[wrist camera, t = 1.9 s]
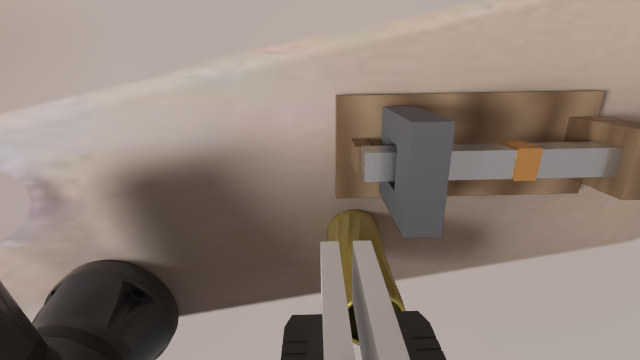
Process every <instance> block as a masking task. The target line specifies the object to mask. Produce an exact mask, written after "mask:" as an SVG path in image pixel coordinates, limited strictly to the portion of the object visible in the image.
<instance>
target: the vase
mask: <svg viewBox="0 0 640 360" xmlns="http://www.w3.org/2000/svg"><path fill="white" fill-rule="evenodd" d="M327 238H328V241H339V248H340V256H341V263H342V270H343V277H344V284H345V291H346V299H347V306H348V313H349V320H350V327H351V335H352V342H353V343H355V344H357V345H360V343H359V337H358V331H357V325H356V319H355V312H354V306H353V300H352V253H353V241H371V242H372V245H373V248H374V251H375V254H376V257H377V260H378V264H379V267H380V270H381V273H382V276H383V279H384V282H385V285H386V288H387V291H388V294H389V297H390V300H391V303H392V306H393V309H394V312H397V311H405V308H404V305H403V301H402V299H401V296H400V294H399V291H398V289H397V286H396V284H395V281H394V279H393V276H392V274H391V271H390V268H389V265H388V262H387V259H386V256H385V252H384V249H383V245H382V241H381V238H380V235H379V232H378V226H377V224H376V222H375V221H374V219H373V218H372V217H371V216H370V215H369V214H367V213H365V212H363V211H359V210H349V211H345V212H343V213H341V214H339V215H337V216H336V217H335V218H334V219H333V220H332V221H331V223H330V224H329V226H328V230H327Z"/></svg>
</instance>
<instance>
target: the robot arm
mask: <svg viewBox="0 0 640 360" xmlns="http://www.w3.org/2000/svg"><path fill="white" fill-rule="evenodd" d="M320 254H321V303H322V314H318V315H292V317H291V318H290V320H289V321H288V323H287V324H286V326H285V329H284V337H283V345H282V356H281V360H355V356H354V349H353V342H352V335H351V327H350V320H349V313H348V306H347V299H346V291H345V284H344V277H343V270H342V263H341V256H340V248H339V241H328V242H320ZM352 300H353V306H354V312H355V319H356V325H357V331H358V337H359V343H360V349H361V355H362V360H446V358H445V356H444V353H443V351H441V347H440V345H439V342H438V340H437V339H436V336H435V334H434V331H433V329H432V327H431V325H430V323H429V322H428V321H427V320H426V319H425V318H424V317H423V316H422V315H421V314H420V313H419V312H418V311H397V312H394V309H393V306H392V303H391V300H390V297H389V294H388V291H387V288H386V285H385V282H384V279H383V276H382V273H381V270H380V267H379V264H378V260H377V257H376V254H375V251H374V248H373V245H372V242H371V241H353V253H352ZM177 325H178V309H177V305H176V303H175V300H174V298H173V296H172V295H171V293H170V292H169V290H168V289H167V288H166V287H165V285H164V284H163V283H162V282H161V281H159V280H158V279H157V278H156V277H155V276H153V275H152V274H150V273H148V272H147V271H145V270H143V269H141V268H139V267H136V266H134V265H131V264H127V263H123V262H117V261H97V262H91V263H88V264H85V265H82V266H80V267H78V268H76V269H75V270H73V271H72V272H70V273H69V274H68V275H67V276H66V277H64V278H63V279H62V280H61V281H60V282H59V283H57V284H56V285H55V287H54V288H53V289H52V290H51V292H50V293H49V295H48V297H47V298H46V301H45V303H44V306H43V307H42V308H41V310H40V311H39V312H38V314H37V316H36V317H35V319H34V320H33V322H32V323H31V322H30V320H29V319H28V318H27V317H26V315H25V314H24V313H23V311H22V310H21V308H20V307H19V306H18V304H17V303H16V302H15V300H14V299H13V297H12V296H11V295H10V293H9V292H8V290H7V289H6V288H5V286H4V285H3V284H2V282H1V281H0V360H155V359H157V358H158V357H159V356H160V355H161V354H162V353H163V352H164V350H165V349H166V347H167V346H168V344H169V342H170V341H171V339H172V337H173V335H174V333H175V331H176V329H177Z"/></svg>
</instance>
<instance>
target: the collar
mask: <svg viewBox="0 0 640 360" xmlns="http://www.w3.org/2000/svg"><path fill="white" fill-rule="evenodd" d="M454 129H455V121H453V120H450V119H448V118H445V117H442V116H440V115H437V114H434V113H431V112H429V111H426V110H423V109H421V108H418V107H415V106H383V111H382V133H381V146H388V145H397V159H396V174H395V181H390V182H379V193H380V195H381V197H382V199H383V201H384V203H385V205H386V206H387V208H388V210H389V212H390V214H391V216H392V218H393V220H394V222H395V224H396V225H397V227H398V229H399V231H400V233H401V235H402V237H403V238H424V237H441V236H442V228H443V219H444V211H445V203H446V195H447V187H448V178H449V170H450V162H451V154H452V146H453V137H454Z"/></svg>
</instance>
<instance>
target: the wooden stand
mask: <svg viewBox="0 0 640 360" xmlns="http://www.w3.org/2000/svg"><path fill="white" fill-rule="evenodd" d="M604 94H605V91H596V90H591V91H535V92H480V93H425V94H369V95H336V198H373V197H381V195H380V193H379V182H364V180H363V178H362V176H361V173H360V165H361V146H381V133H382V111H383V106H415V107H418V108H421V109H423V110H426V111H429V112H431V113H434V114H437V115H440V116H442V117H445V118H448V119H450V120H453V121H455V129H454V137H453V144H490V143H500V142H501V141H524V142H527V143H541V142H592V141H598V142H602V143H606V144H610V145H614V146H618V147H622V148H623V150H622V154H621V157H620V160H619V164H618V167H617V170H616V174H615V177H583V178H537V179H536V181H512V180H510V179H487V180H448V187H447V195H446V196H467V195H514V194H561V193H578V191H579V187H580V184H581V183H582V184H585V185H587V186H590V187H592V188H594V189H597V190H599V191H601V192H604V193H606V194H608V195H611V196H613V197H615V198H618V199H620V200H640V123H636V122H630V121H624V120H618V119H612V118H606V117H600V116H599V112H600V109H601V105H602V101H603V97H604Z"/></svg>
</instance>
